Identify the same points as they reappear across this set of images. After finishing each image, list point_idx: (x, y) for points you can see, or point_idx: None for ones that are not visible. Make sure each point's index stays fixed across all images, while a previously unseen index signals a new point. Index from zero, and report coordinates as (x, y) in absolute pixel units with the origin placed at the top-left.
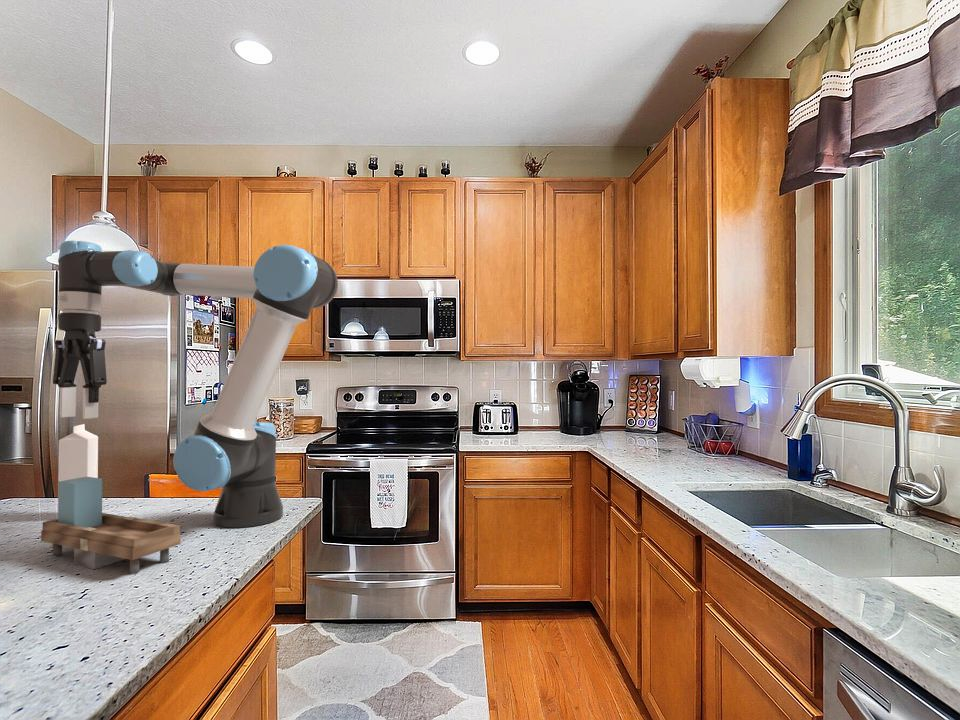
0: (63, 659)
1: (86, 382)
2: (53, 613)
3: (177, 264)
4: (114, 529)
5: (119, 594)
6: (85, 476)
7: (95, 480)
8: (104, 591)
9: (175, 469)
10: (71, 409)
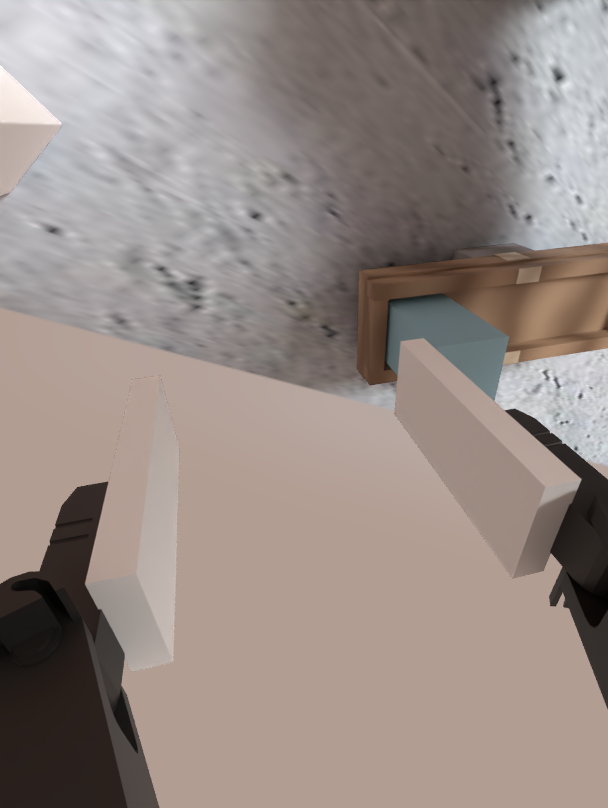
0: None
1: (593, 618)
2: (561, 417)
3: None
4: (502, 300)
5: (599, 357)
6: (4, 128)
7: (504, 354)
8: (573, 363)
9: None
10: (165, 432)
